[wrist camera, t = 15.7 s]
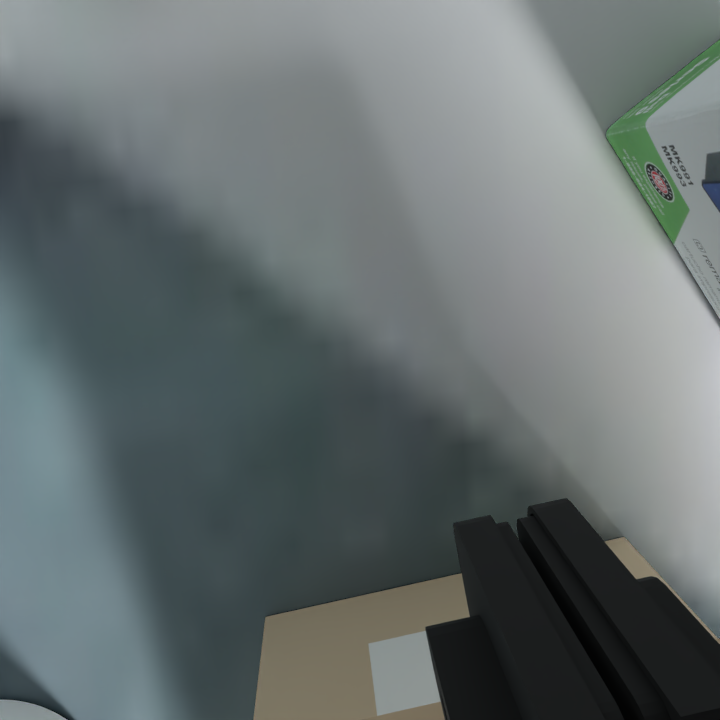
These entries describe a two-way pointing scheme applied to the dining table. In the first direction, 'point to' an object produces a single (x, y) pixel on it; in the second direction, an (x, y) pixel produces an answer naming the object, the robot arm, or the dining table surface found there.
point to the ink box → (681, 163)
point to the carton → (370, 649)
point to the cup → (25, 711)
